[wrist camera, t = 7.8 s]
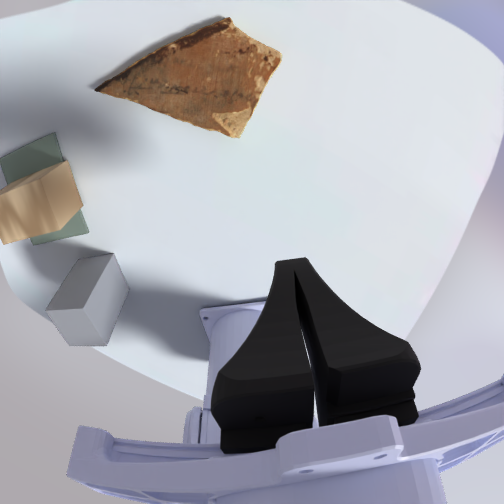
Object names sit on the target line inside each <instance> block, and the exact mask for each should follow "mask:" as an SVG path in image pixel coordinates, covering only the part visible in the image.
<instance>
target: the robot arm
mask: <svg viewBox="0 0 504 504" xmlns="http://www.w3.org/2000/svg"><path fill="white" fill-rule="evenodd" d="M199 315H200V318H201V321H202V323H203V326H204V329H205V331H206V334H207V337H208V339H209V342H210V354H209V366H208V377H207V389H206V395H204V404H203V411H202V410H201V407H197V406H195V407H193V409H192V410H190V411H189V412H188V413H187V415H186V420H185V426H184V435H183V443H164V442H149V441H138V440H128V439H120V438H114V437H113V436H112V435H111V434H110V433H109V432H107V431H105V430H103V429H99V428H93V427H87V426H79V427H78V431H77V434H76V438H75V441H74V445H73V449H72V453H71V457H70V461H69V466H68V470H67V474H66V475H67V477H69V478H71V479H73V480H75V481H77V482H78V483H80V484H82V485H85V486H86V487H88V488H91V489H92V490H95V491H97V492H99V493H102V494H106V495H110V496H114V497H119V498H123V499H128V500H133V501H137V502H142V503H147V504H447V502H446V497H445V493H444V489H443V485H442V482H441V477H440V473H441V472H443V471H445V470H447V469H450V468H452V467H454V466H456V465H458V464H460V463H462V462H464V461H466V460H468V459H470V458H472V457H474V456H476V455H477V454H479V453H481V452H483V451H485V450H487V449H488V448H490V447H492V446H494V445H495V444H497V443H499V442H501V441H502V440H504V374H503V376H502V378H501V379H500V380H498V381H496V382H494V383H491V384H489V385H487V386H485V387H483V388H480V389H478V390H476V391H473V392H471V393H469V394H466V395H463V396H461V397H458V398H456V399H453V400H450V401H448V402H445V403H442V404H439V405H436V406H434V407H431V408H428V409H425V410H422V411H417V408H416V405H415V402H414V399H415V393H414V390H413V386H414V384H415V381H416V380H417V377H418V376H419V374H420V370H421V367H420V363H419V360H418V358H417V356H416V354H415V352H414V351H413V349H412V347H411V346H410V344H409V343H408V342H407V341H405V340H403V339H401V338H398V337H396V336H394V335H392V334H390V333H388V332H386V331H384V330H382V329H380V328H379V327H377V326H375V325H374V324H372V323H371V322H369V321H368V320H366V319H365V318H363V317H362V316H360V315H359V314H358V313H357V312H355V311H354V310H353V309H352V308H350V307H349V306H348V305H347V304H346V303H345V302H343V301H342V300H341V299H340V298H339V297H338V296H337V295H336V294H335V293H334V292H333V291H332V290H331V289H330V287H329V286H328V285H327V284H326V283H325V282H324V281H323V279H322V278H321V277H320V276H319V274H318V273H317V272H316V271H315V269H314V268H313V266H312V265H311V263H310V262H309V260H308V259H307V258H306V257H304V258H297V259H290V260H282V261H277V262H276V263H275V271H274V277H273V281H272V285H271V288H270V292H269V295H268V297H267V300H266V301H263V302H255V303H247V304H239V305H230V306H221V307H212V308H203V309H201V310H200V312H199ZM205 317H208V318H205ZM301 329H302V330H301ZM302 333H303V335H302ZM303 337H304V339H303ZM304 340H305V343H304ZM305 344H306V347H305ZM306 348H307V351H308V355H309V359H308V356H307V352H306ZM309 360H310V363H309ZM310 364H311V367H310ZM314 391H315V399H316V406H317V414H318V420H317V419H316V418H315V417H314ZM201 417H202V418H201Z"/></svg>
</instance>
